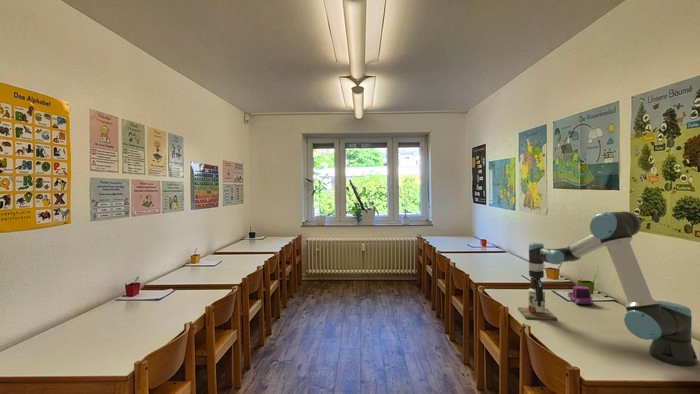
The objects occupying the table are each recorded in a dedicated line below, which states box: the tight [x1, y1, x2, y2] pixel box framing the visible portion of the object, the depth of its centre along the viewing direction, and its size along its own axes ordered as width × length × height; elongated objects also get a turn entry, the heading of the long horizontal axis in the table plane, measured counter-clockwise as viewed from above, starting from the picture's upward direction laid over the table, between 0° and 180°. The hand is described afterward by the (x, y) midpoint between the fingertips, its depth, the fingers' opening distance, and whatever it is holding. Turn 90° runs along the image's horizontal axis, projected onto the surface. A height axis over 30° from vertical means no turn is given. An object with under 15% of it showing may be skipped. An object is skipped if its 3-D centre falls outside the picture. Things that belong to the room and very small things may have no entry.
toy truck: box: [567, 285, 594, 306], centre depth 224 cm, size 11×16×10 cm
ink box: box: [527, 288, 546, 313], centre depth 204 cm, size 9×5×12 cm, turn 63°
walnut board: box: [517, 306, 558, 321], centre depth 204 cm, size 16×16×1 cm
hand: (536, 309), depth 204 cm, fingers closed on ink box, 6 cm apart
